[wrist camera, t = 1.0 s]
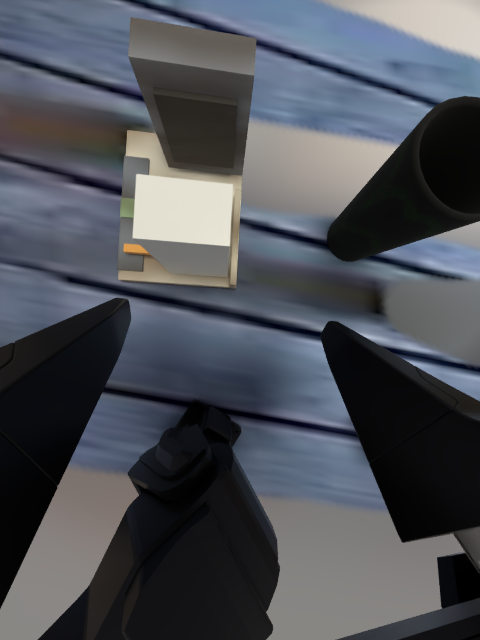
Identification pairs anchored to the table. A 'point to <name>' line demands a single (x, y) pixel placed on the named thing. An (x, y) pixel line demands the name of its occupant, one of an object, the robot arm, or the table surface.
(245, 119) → the frame
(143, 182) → the gauge slider
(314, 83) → the table surface
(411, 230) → the cup
